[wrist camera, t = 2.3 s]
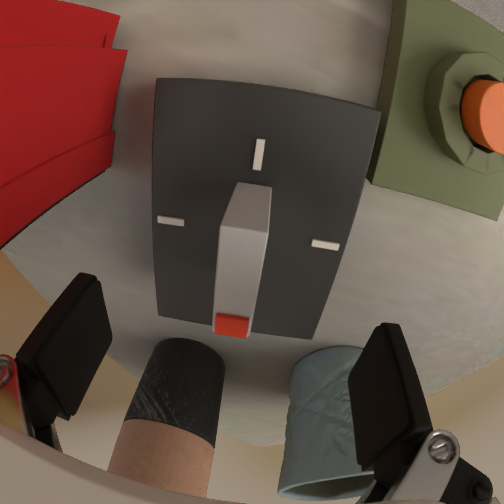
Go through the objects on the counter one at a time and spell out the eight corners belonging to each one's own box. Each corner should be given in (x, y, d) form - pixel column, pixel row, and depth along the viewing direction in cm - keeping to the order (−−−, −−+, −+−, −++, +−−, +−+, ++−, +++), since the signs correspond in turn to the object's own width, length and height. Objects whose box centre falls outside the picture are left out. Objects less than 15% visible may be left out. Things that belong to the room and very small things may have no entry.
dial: (237, 181, 14) (218, 229, 10) (272, 186, 14) (268, 236, 10) (227, 270, 16) (210, 336, 12) (256, 275, 16) (248, 342, 12)
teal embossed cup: (391, 333, 23) (424, 461, 13) (378, 393, 28) (393, 492, 18) (275, 347, 25) (268, 481, 15) (287, 404, 30) (283, 504, 20)
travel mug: (155, 375, 29) (103, 545, 12) (147, 327, 25) (68, 540, 8) (225, 389, 29) (195, 570, 12) (231, 344, 25) (191, 579, 8)
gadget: (182, 77, 15) (154, 77, 11) (359, 104, 15) (383, 111, 11) (174, 279, 22) (156, 317, 18) (308, 300, 22) (312, 342, 18)
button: (466, 68, 10) (486, 69, 8) (512, 96, 10) (532, 101, 8) (453, 132, 11) (472, 140, 10) (499, 154, 11) (518, 164, 10)
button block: (394, -10, 10) (422, -29, 7) (516, 56, 10) (554, 60, 7) (361, 172, 17) (381, 197, 13) (481, 207, 17) (511, 234, 13)
